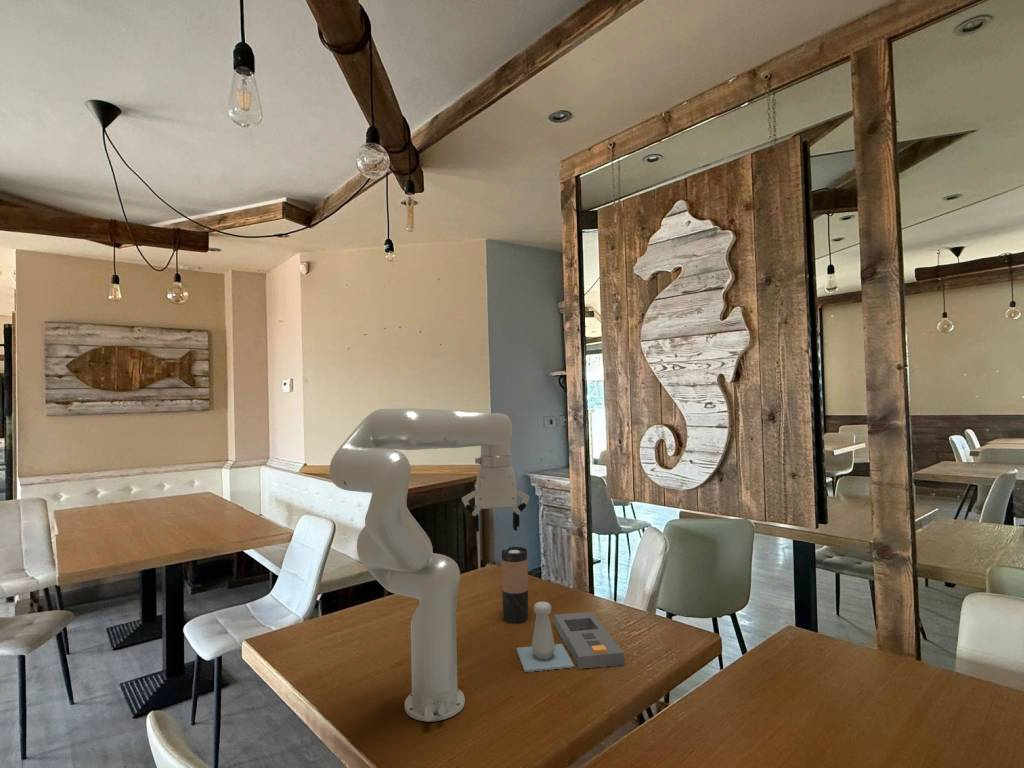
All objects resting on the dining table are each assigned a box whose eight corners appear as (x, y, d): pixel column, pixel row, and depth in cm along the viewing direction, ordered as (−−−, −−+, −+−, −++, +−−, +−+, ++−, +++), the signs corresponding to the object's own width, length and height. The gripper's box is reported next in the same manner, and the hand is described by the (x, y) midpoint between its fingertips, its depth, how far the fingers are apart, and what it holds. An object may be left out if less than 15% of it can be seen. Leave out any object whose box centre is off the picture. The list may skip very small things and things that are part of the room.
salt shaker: (553, 662, 134) (552, 608, 134) (530, 661, 135) (529, 607, 135) (556, 651, 139) (555, 599, 140) (533, 650, 140) (532, 598, 141)
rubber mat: (574, 668, 132) (574, 665, 132) (524, 672, 130) (524, 670, 130) (562, 646, 144) (562, 643, 144) (516, 650, 142) (516, 647, 142)
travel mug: (528, 624, 158) (527, 553, 159) (502, 624, 159) (500, 553, 159) (528, 613, 166) (527, 546, 167) (503, 613, 166) (501, 546, 167)
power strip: (623, 665, 133) (623, 649, 133) (579, 669, 131) (579, 653, 131) (592, 622, 159) (591, 608, 159) (554, 625, 157) (554, 612, 157)
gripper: (461, 464, 137) (462, 534, 136) (531, 463, 139) (532, 532, 138) (461, 461, 144) (461, 528, 144) (527, 460, 146) (527, 526, 145)
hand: (496, 530), depth 141 cm, fingers open, 9 cm apart
